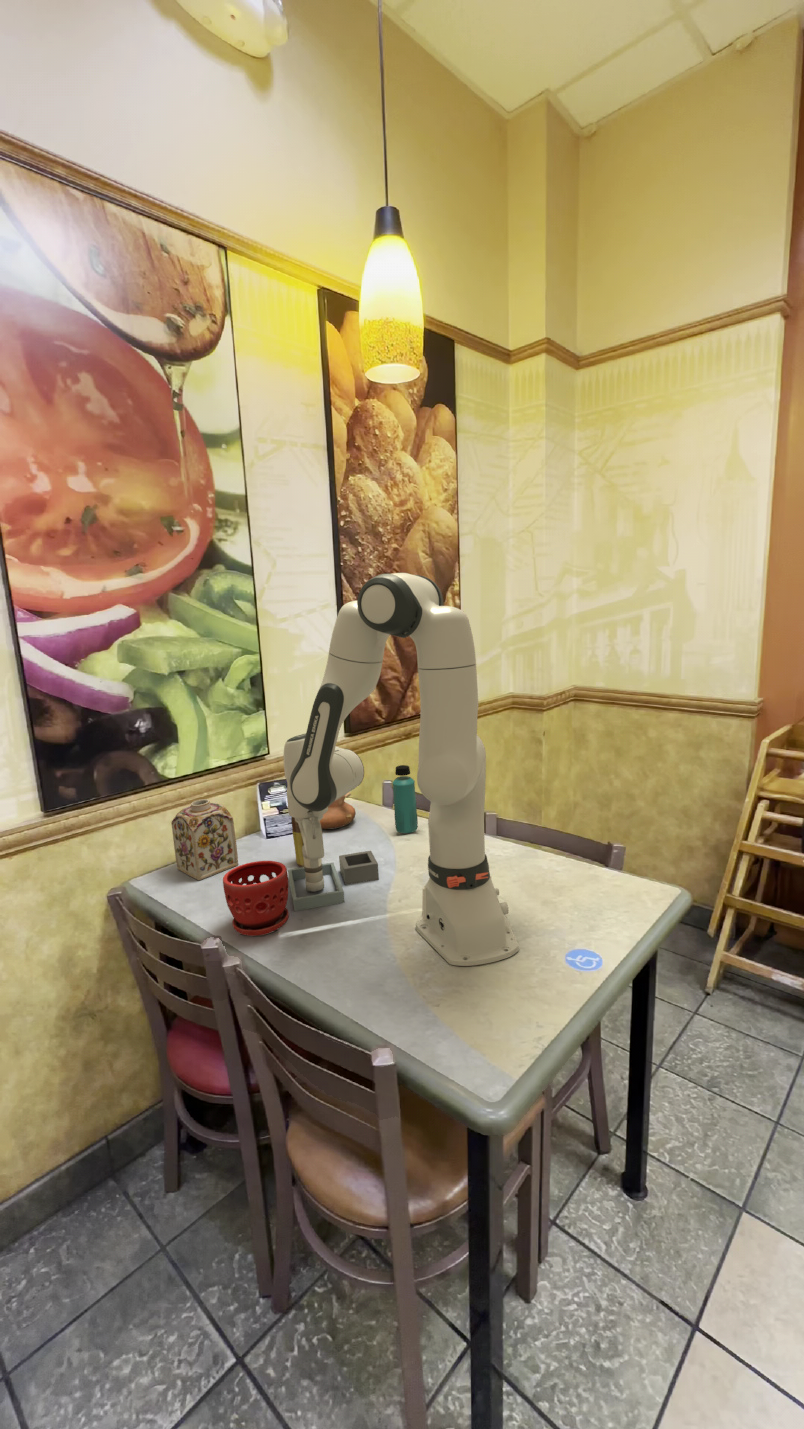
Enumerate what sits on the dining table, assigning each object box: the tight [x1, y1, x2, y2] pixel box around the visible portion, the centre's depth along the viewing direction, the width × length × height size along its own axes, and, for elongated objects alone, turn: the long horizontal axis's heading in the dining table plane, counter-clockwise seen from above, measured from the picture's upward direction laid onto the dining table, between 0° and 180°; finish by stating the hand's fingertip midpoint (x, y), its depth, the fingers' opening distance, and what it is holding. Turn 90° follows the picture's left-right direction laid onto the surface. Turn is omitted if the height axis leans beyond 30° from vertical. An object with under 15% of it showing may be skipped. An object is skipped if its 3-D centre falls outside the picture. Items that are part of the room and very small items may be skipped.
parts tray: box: [287, 862, 346, 912], centre depth 140 cm, size 16×11×4 cm
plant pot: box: [222, 860, 290, 937], centre depth 127 cm, size 13×13×12 cm
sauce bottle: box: [290, 817, 304, 868], centre depth 154 cm, size 6×6×20 cm
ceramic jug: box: [320, 792, 357, 830], centre depth 183 cm, size 18×14×14 cm
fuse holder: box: [338, 850, 380, 886], centre depth 146 cm, size 8×8×5 cm
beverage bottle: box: [392, 764, 419, 834], centre depth 171 cm, size 6×7×20 cm
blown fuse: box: [302, 845, 325, 892], centre depth 139 cm, size 4×4×10 cm
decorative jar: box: [170, 798, 239, 881], centre depth 157 cm, size 12×12×18 cm
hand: (313, 862), depth 139 cm, fingers closed on blown fuse, 4 cm apart
